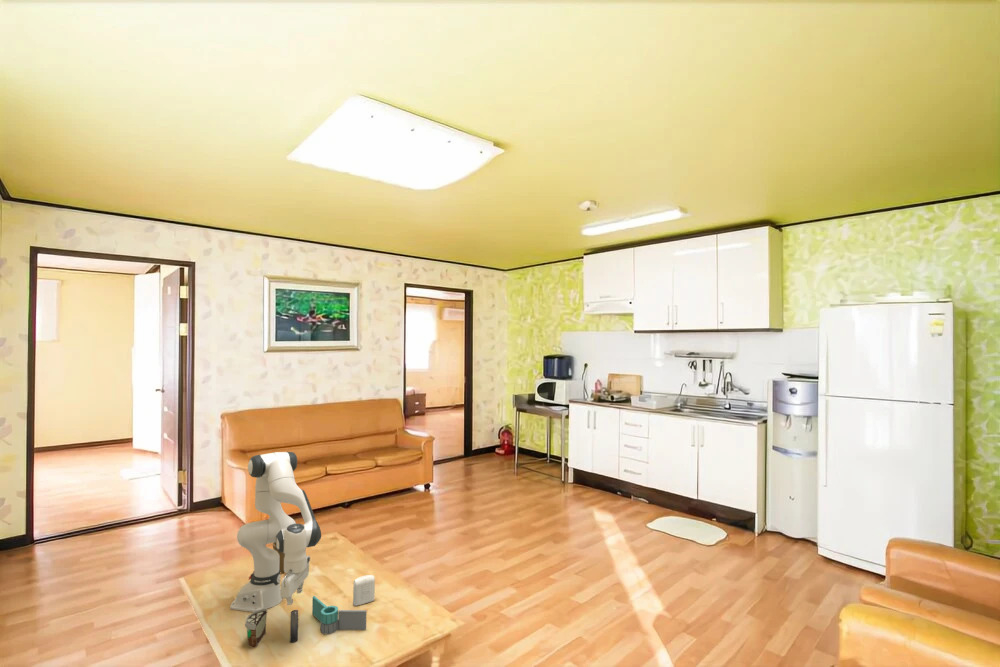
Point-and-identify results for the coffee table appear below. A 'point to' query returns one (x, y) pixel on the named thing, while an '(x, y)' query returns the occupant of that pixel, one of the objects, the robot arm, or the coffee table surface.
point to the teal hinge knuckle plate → (324, 611)
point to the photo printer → (363, 590)
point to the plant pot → (280, 558)
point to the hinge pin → (294, 626)
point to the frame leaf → (346, 621)
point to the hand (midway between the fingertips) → (294, 598)
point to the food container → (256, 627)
